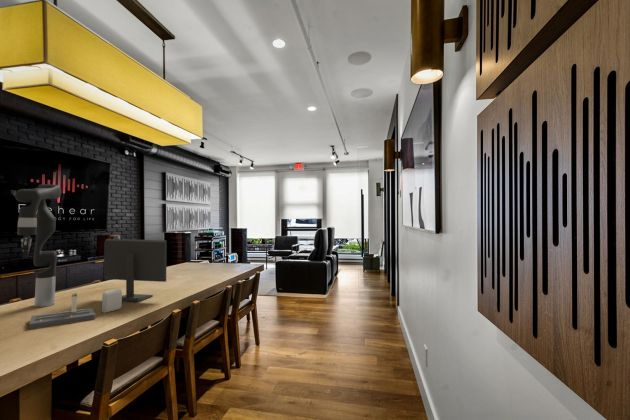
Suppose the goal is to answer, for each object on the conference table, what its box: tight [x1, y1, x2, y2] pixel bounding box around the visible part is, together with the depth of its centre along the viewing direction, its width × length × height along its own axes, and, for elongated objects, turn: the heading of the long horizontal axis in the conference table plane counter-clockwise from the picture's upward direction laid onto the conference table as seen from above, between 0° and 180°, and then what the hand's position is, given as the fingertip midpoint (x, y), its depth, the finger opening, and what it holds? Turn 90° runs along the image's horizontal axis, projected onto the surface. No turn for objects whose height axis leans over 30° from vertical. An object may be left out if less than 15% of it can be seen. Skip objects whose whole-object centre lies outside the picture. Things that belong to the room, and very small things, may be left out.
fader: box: [69, 293, 78, 313], centre depth 166 cm, size 4×3×10 cm
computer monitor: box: [103, 238, 168, 303], centre depth 208 cm, size 44×16×40 cm, turn 84°
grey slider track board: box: [28, 307, 96, 330], centre depth 163 cm, size 16×26×4 cm, turn 130°
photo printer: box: [101, 288, 123, 314], centre depth 181 cm, size 10×4×12 cm, turn 156°
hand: (25, 258), depth 165 cm, fingers closed
